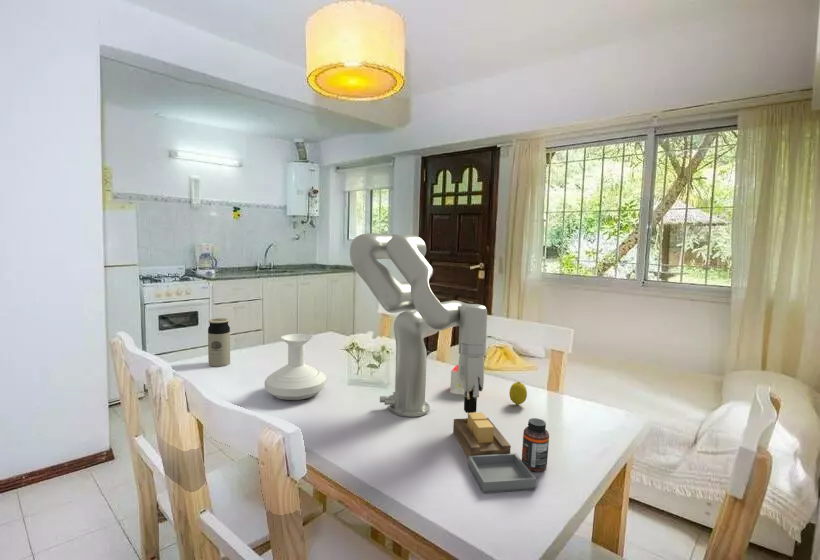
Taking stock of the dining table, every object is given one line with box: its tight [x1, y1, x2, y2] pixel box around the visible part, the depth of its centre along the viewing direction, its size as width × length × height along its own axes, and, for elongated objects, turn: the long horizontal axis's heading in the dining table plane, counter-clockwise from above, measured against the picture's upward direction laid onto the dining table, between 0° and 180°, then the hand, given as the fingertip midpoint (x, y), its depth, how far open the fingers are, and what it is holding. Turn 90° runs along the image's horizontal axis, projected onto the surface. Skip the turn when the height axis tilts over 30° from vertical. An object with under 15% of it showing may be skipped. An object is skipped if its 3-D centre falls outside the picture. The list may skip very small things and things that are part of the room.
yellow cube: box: [467, 411, 488, 434], centre depth 115 cm, size 4×4×4 cm
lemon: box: [509, 381, 528, 406], centre depth 140 cm, size 6×6×8 cm
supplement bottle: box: [521, 417, 550, 473], centre depth 103 cm, size 6×6×11 cm
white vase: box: [264, 333, 327, 401], centre depth 143 cm, size 20×20×19 cm
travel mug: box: [207, 317, 231, 368], centre depth 170 cm, size 8×8×18 cm
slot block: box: [452, 417, 512, 459], centre depth 112 cm, size 10×16×4 cm, turn 10°
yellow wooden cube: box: [473, 420, 494, 443], centre depth 110 cm, size 4×4×4 cm
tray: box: [467, 452, 537, 494], centre depth 98 cm, size 12×11×2 cm
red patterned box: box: [449, 364, 464, 396], centre depth 151 cm, size 8×8×8 cm
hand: (470, 411), depth 122 cm, fingers closed
